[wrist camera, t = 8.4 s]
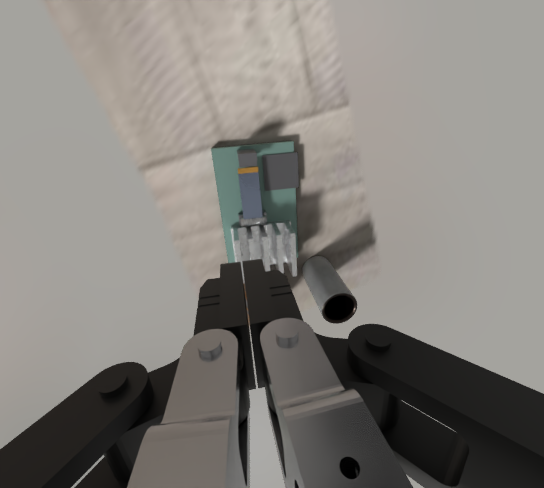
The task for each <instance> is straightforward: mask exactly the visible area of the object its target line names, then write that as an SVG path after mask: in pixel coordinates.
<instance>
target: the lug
mask: <svg viewBox="0 0 544 488" xmlns="http://www.w3.org/2000/svg"><path fill="white" fill-rule="evenodd" d="M237 156H238V161H239V167H250V166H257V153H256V151H255V150H254V149H244V150H237Z"/></svg>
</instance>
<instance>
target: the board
mask: <svg viewBox="0 0 544 488" xmlns="http://www.w3.org/2000/svg"><path fill="white" fill-rule="evenodd" d="M244 149H254V150H255V151H256V153H257V166H258V173H259V184H260V194H261V205H262V210H265V211H266V217H267V222H272V221H280V220H288V219H290V221H291V227H292V228H293V230H294V232H295V238H296V258H298V240H297V215H296V190H295V188H298V187H299V180H298V152H294V141H282V142H271V143H260V144H249V145H238V146H227V147H216V148H211V151H212V158H213V164H214V171H215V178H216V184H217V191H218V197H219V204H220V210H221V217H222V224H223V230H224V237H225V243H226V250H227V256H228V263H233V262H235V256H234V249H233V242H232V234H231V226H238V225H239V217H238V213H243V210H242V202H241V193H240V185H239V177H238V169H237V168H244V167H239V161H238V156H237V150H244ZM250 167H254V166H250Z"/></svg>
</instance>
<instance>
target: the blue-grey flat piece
mask: <svg viewBox="0 0 544 488" xmlns="http://www.w3.org/2000/svg"><path fill="white" fill-rule="evenodd" d="M237 169H238V177H239V185H240V193H241V202H242V210H243V218H240V220H241V227H249V226H257V225H266V224H267V222H266V215H262V205H261V194H260V184H259V173H258V166H254V167H244V168H237Z"/></svg>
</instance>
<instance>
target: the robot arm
mask: <svg viewBox="0 0 544 488" xmlns="http://www.w3.org/2000/svg"><path fill="white" fill-rule="evenodd" d="M242 263H243V271H244V280H245V288H246V296H247V305H248V313H249V321H250V329H251V336H252V344H253V352H254V360H255V366H256V375H257V383H258V388H262V387H265V390H266V396H267V404H268V412H269V418H270V422H271V426H272V431H273V435H274V439H275V444H276V448H277V452H278V456H279V461H280V465H281V470H282V474H283V478H284V483H285V487H286V488H413V486H412V485H411V483H410V481H409V480H408V478H407V476H406V474H407V475H408V476H409V477H411V478H412V479H413V480H415V481H416V482H417V483H419V484H420V485H421V486H423V487H424V488H544V394H543V393H540V392H538V391H536V390H533V389H531V388H529V387H526V386H524V385H521V384H519V383H517V382H515V381H512V380H510V379H508V378H505V377H503V376H501V375H498V374H496V373H494V372H491V371H489V370H487V369H485V368H482V367H480V366H478V365H475V364H473V363H471V362H468V361H466V360H464V359H461V358H459V357H457V356H454V355H452V354H450V353H447V352H445V351H443V350H440V349H438V348H436V347H433V346H431V345H429V344H426V343H424V342H422V341H420V340H417V339H415V338H412V337H410V336H408V335H405V334H403V333H401V332H399V331H396V330H394V329H391V328H389V327H387V326H383V325H378V324H365V325H361V326H358V327H356V328H355V329H353V330H352V331H351V333H350V334H349V337H348V339H342V338H330V337H325V336H322V335H319V334H316V333H315V332H314V331H313V329H312V328H311V327H310V326H309V325H308V324H307V323H306V322H304V321H303V319H302V316H301V313H300V311H299V308H298V306H297V303H296V300H295V298H294V295H293V293H292V290H291V287H290V284H289V282H288V279H287V277H286V276H285V275H284V274H283V273H281V272H280V271H279V270H273V271H266V272H265V269H264V265H263V261H262V259H255V260H248V261H242ZM252 389H256V385H255V376H254V368H253V359H252V350H251V342H250V332H249V324H248V315H247V307H246V299H245V291H244V284H243V276H242V269H241V262H233V263H226V264H221V265H220V278H215V279H208V280H207V281H206V282H205V283H204V284H203V286H202V287H201V288H200V293H199V300H198V308H197V315H196V322H195V329H194V336H193V337H192V338H191V339H190V340H188V342H187V343H186V344H185V345H184V347H183V350H182V353H181V356H180V358H178V359H177V360H175V361H174V362H172V363H170V364H168V365H166V366H164V367H161V368H158V369H157V370H154V371H151V372H149V373H148V372H147V370H146V368H145V367H144V366H143V365H141V364H139V363H135V362H126V363H120V364H116V365H114V366H111V367H109V368H107V369H105V370H103V371H102V372H100V373H99V374H97V375H96V376H95V377H93V378H92V379H91V380H89V381H88V382H87V383H86V384H84V385H83V386H82V387H80V388H79V389H78V390H77V391H75V392H74V393H73V394H71V395H70V396H69V397H67V398H66V399H65V400H64V401H62V402H61V403H60V404H59V405H57V406H56V407H54V408H53V409H52V410H51V411H49V412H48V413H47V414H45V415H44V416H43V417H42V418H40V419H39V420H38V421H36V422H35V423H34V424H33V425H31V426H30V427H29V428H27V429H26V430H25V431H24V432H22V433H21V434H20V435H18V436H17V437H16V438H14V439H13V440H12V441H11V442H9V443H8V444H7V445H6V446H4V447H3V448H2V449H0V488H71V487H72V486H73V485H74V484H75V483H76V481H78V480H79V479H80V478H81V477H82V476H83V474H85V473H86V472H87V470H88V469H90V468H91V466H92V465H93V464H94V463H95V462H96V461H97V460H98V459H99V458H100V457H101V456H102V455H104V456H105V457H104V458H103V459H102V460H101V461H100V462H99V463H98V464H97V465H96V466H95V467H94V468H93V469H92V470H91V471H90V472H89V473H88V475H86V476H85V478H84V479H82V480H81V482H80V483H79V484H78V485H77V486H76V487H75V488H250V428H249V427H250V426H249V425H250V418H249V408H250V399H249V390H252ZM402 400H403V401H404V402H406V403H408V404H410V405H411V406H413V407H415V408H417V409H419V410H420V411H422V412H423V413H425V414H427V415H429V416H430V417H432V418H434V419H435V420H438V421H439V422H441V423H442V424H444V425H446V426H448V427H450V428H451V429H453V430H454V431H456V432H457V433H456V432H454V431H453V430H451V429H449V428H448V427H445V426H444V425H442V424H441V423H439V422H437V421H435V420H434V419H432V418H430V417H428V416H427V415H425V414H423V413H422V412H420V411H418V410H416V409H415V408H413V407H411V406H409V405H408V404H406V403H404V402H403V401H402Z"/></svg>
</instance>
